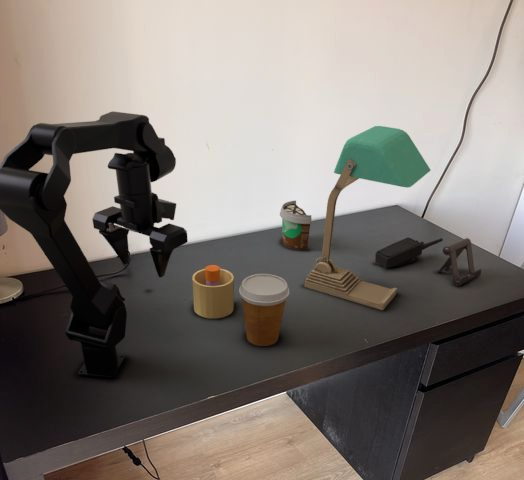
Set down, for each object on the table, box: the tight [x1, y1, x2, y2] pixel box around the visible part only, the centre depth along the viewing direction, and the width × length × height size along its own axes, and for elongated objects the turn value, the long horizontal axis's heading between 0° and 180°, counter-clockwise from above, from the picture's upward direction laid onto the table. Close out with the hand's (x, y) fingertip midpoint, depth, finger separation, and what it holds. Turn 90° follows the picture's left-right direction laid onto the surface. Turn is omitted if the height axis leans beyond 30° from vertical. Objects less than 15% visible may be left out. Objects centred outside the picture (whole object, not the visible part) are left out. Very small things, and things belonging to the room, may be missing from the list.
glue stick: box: [204, 264, 221, 286], centre depth 111 cm, size 3×3×9 cm
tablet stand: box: [437, 237, 482, 287], centre depth 128 cm, size 9×8×8 cm
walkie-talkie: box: [374, 237, 444, 269], centre depth 136 cm, size 6×6×20 cm
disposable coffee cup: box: [238, 273, 290, 347], centre depth 102 cm, size 10×10×12 cm
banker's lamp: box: [304, 125, 431, 311], centre depth 112 cm, size 16×21×35 cm
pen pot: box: [191, 268, 235, 319], centre depth 112 cm, size 9×9×8 cm
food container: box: [279, 200, 312, 251], centre depth 140 cm, size 12×6×10 cm, turn 17°
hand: (143, 270), depth 102 cm, fingers open, 9 cm apart
